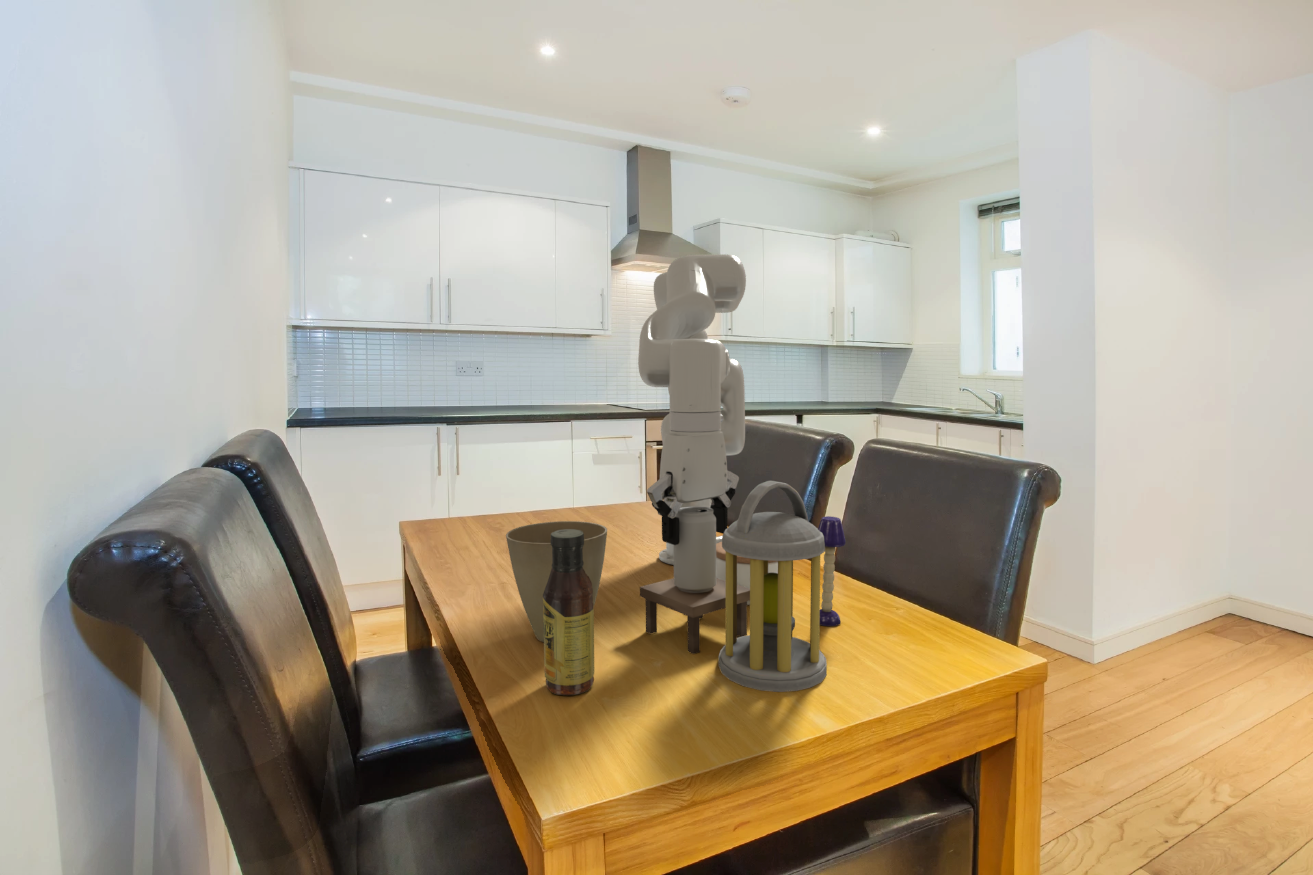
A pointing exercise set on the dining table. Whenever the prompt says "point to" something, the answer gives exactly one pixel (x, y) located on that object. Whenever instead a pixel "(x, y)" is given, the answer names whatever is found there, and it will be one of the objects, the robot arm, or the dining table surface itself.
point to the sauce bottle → (568, 618)
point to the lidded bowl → (738, 567)
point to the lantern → (772, 597)
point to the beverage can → (695, 550)
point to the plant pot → (550, 562)
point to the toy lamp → (830, 567)
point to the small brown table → (692, 606)
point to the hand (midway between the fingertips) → (695, 537)
